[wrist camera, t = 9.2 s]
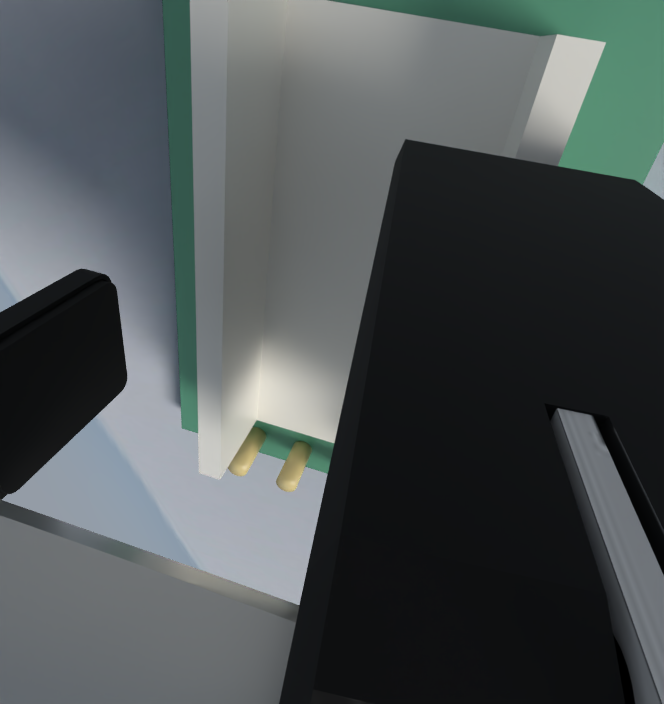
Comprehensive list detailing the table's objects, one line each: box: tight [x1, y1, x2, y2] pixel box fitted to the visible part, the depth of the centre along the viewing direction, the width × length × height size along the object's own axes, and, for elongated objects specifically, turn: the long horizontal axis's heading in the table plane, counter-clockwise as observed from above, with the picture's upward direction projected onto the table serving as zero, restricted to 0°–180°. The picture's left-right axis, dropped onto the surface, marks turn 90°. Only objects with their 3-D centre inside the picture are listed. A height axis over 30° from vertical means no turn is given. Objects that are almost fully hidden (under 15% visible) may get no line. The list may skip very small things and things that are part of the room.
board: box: [162, 0, 664, 492], centre depth 14 cm, size 18×13×4 cm
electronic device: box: [279, 139, 664, 704], centre depth 8 cm, size 4×10×10 cm, turn 172°
